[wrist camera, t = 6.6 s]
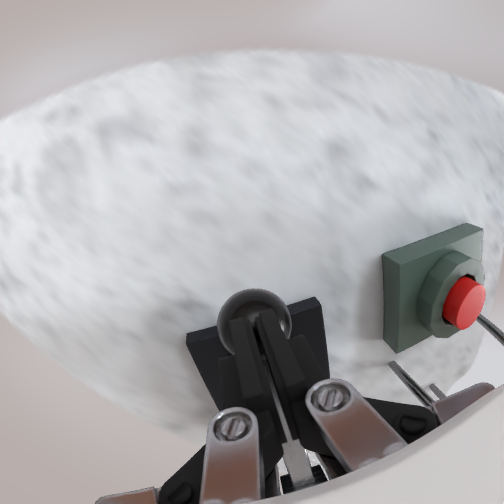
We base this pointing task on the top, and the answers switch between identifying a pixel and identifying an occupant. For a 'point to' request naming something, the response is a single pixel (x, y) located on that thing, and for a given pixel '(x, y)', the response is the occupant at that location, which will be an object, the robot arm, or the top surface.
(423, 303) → the button box
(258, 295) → the lever
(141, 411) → the top surface
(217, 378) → the lever bracket
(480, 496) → the robot arm
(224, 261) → the top surface
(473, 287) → the button
